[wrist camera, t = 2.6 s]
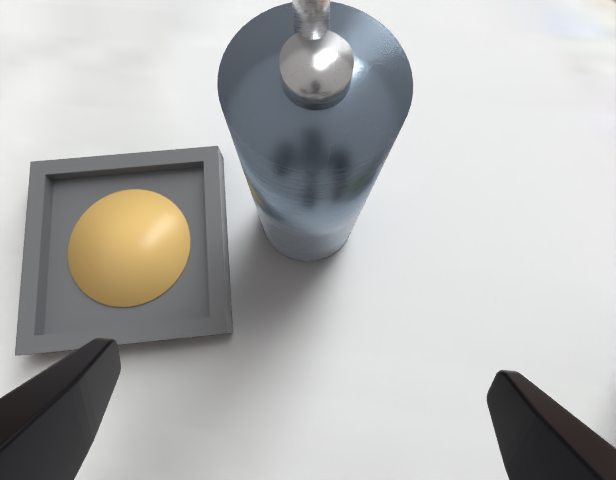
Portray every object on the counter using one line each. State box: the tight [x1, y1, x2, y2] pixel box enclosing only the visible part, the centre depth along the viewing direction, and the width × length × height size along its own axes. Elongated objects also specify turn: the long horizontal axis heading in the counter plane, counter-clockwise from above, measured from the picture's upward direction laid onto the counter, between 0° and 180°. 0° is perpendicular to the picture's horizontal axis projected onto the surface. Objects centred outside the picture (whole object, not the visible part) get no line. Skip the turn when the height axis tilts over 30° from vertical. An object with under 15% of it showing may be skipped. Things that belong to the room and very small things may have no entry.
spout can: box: [218, 0, 413, 262], centre depth 16 cm, size 6×6×16 cm
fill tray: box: [15, 146, 233, 355], centre depth 22 cm, size 11×11×2 cm
